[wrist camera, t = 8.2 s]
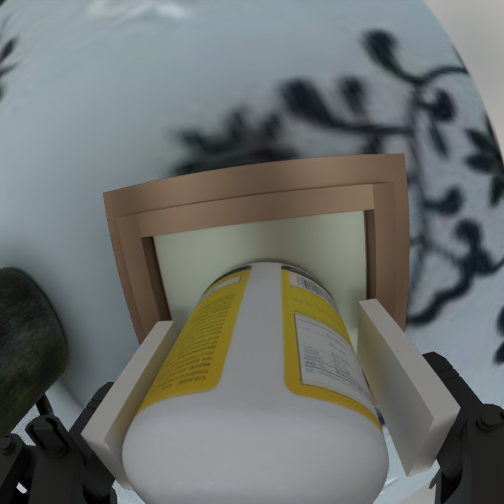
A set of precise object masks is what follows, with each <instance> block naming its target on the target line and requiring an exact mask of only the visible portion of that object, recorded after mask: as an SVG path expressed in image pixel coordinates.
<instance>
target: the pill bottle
mask: <svg viewBox="0 0 504 504" xmlns="http://www.w3.org/2000/svg"><path fill="white" fill-rule="evenodd" d="M122 459H123V466H124V470H125V473H126V476H127V478H128V480H129V482H130V484H131V486H132V487H133V489H134V490H135V492H136V493H137V494H138V496H139V497H140V498H141V499H142V500H143V501H144V502H145V503H146V504H373V502H374V501H375V500H376V498H377V497H378V495H379V494H380V492H381V490H382V488H383V486H384V484H385V481H386V478H387V474H388V469H389V457H388V451H387V447H386V442H385V439H384V435H383V432H382V428H381V425H380V422H379V419H378V416H377V413H376V410H375V406H374V404H373V401H372V398H371V395H370V392H369V389H368V386H367V383H366V381H365V378H364V375H363V372H362V370H361V367H360V364H359V362H358V359H357V356H356V354H355V351H354V348H353V345H352V343H351V340H350V337H349V335H348V332H347V330H346V327H345V325H344V322H343V320H342V317H341V314H340V312H339V309H338V307H337V305H336V303H335V301H334V299H333V297H332V296H331V294H330V293H329V291H328V290H327V289H326V288H325V287H324V286H323V285H322V284H321V283H320V282H319V281H318V280H317V279H316V278H314V277H313V276H311V275H310V274H308V273H307V272H305V271H303V270H301V269H299V268H296V267H293V266H290V265H286V264H282V263H274V262H259V263H251V264H247V265H243V266H240V267H237V268H235V269H232V270H230V271H228V272H226V273H225V274H223V275H222V276H220V277H219V278H218V279H216V280H215V281H214V282H213V283H212V284H211V285H210V286H209V287H208V288H207V289H206V291H205V292H204V293H203V295H202V297H201V298H200V300H199V301H198V303H197V305H196V307H195V309H194V310H193V312H192V314H191V315H190V317H189V319H188V321H187V322H186V324H185V326H184V328H183V329H182V331H181V333H180V335H179V336H178V338H177V340H176V342H175V344H174V345H173V347H172V349H171V351H170V353H169V354H168V356H167V358H166V360H165V362H164V363H163V365H162V367H161V369H160V371H159V373H158V374H157V376H156V378H155V380H154V382H153V384H152V385H151V387H150V389H149V391H148V393H147V395H146V397H145V399H144V400H143V402H142V404H141V406H140V408H139V410H138V412H137V414H136V416H135V417H134V419H133V421H132V423H131V425H130V427H129V429H128V432H127V434H126V436H125V440H124V443H123V449H122Z"/></svg>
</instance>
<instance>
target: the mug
mask: <svg viewBox="0 0 504 504" xmlns="http://www.w3.org/2000/svg"><path fill="white" fill-rule="evenodd" d="M65 365H66V345H65V339H64V336H63V332H62V329H61V327H60V324H59V322H58V320H57V317H56V315H55V313H54V311H53V310H52V308H51V306H50V304H49V303H48V301H47V300H46V298H45V297H44V295H43V294H42V293H41V291H40V290H39V289H38V288H37V287H36V285H35V284H34V283H33V282H32V281H31V280H29V279H28V278H27V277H26V276H24V275H23V274H21V273H19V272H17V271H14V270H12V269H8V268H3V269H0V437H2V436H3V435H5V434H9V433H11V431H12V430H13V429H14V428H15V427H16V425H17V424H18V423H19V422H20V421H21V419H22V418H23V417H24V416H25V415H26V414H27V412H28V411H29V410H30V409H31V408H32V407H33V406H34V404H35V403H36V406H37V408H38V411H39V413H40V416H41V415H47V414H48V415H54V413H53V410H52V407H51V405H50V403H49V400H48V398H47V396H46V394H45V392H46V391H47V390H48V389H49V388H50V386H51V385H52V384H53V383H54V382H55V381H56V380H57V379H58V378H59V377H60V375H61V374H62V373H63V371H64V369H65Z"/></svg>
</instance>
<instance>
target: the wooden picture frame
mask: <svg viewBox="0 0 504 504" xmlns="http://www.w3.org/2000/svg"><path fill="white" fill-rule="evenodd" d="M103 197H104V203H105V209H106V215H107V221H108V226H109V231H110V236H111V241H112V246H113V251H114V255H115V259H116V264H117V268H118V272H119V276H120V280H121V284H122V288H123V291H124V295H125V299H126V302H127V306H128V309H129V312H130V316H131V319H132V322H133V326H134V329H135V332H136V335H137V338H138V341H139V344H140V345H141V344H142V343H143V341H144V340H145V338H146V337H147V336H148V334H149V333H150V331H151V330H152V329H153V327H154V326H155V324H156V323H157V322H158V321H174V322H175V326H176V329H177V333H178V336H179V335H180V333H181V331H182V329H183V328H184V326H185V324H186V322H187V321H188V319H189V317H190V315H191V314H192V312H193V310H194V309H195V307H196V305H197V303H198V301H199V300H200V298H201V297H202V295H203V293H204V292H205V291H206V289H207V288H208V287H209V286H210V285H211V284H212V283H213V282H214V281H215V280H216V279H218V278H219V277H220V276H222V275H223V274H225V273H226V272H228V271H230V270H232V269H235V268H237V267H240V266H243V265H247V264H251V263H259V262H274V263H282V264H286V265H290V266H293V267H296V268H299V269H301V270H303V271H305V272H307V273H308V274H310V275H311V276H313V277H314V278H316V279H317V280H318V281H319V282H320V283H321V284H322V285H323V286H324V287H325V288H326V289H327V290H328V291H329V293H330V294H331V296H332V297H333V299H334V301H335V303H336V305H337V307H338V309H339V312H340V314H341V317H342V320H343V322H344V325H345V327H346V330H347V332H348V335H349V337H350V340H351V343H352V345H353V348H354V351H355V354H356V356H357V339H358V301H364V300H370V299H377V300H378V302H379V303H380V304H381V305H382V306H383V308H384V309H385V310H386V311H387V312H388V314H389V315H390V316H391V317H392V318H393V320H394V321H395V322H396V323H397V324H398V326H399V327H400V328H401V329H402V331H403V332H404V330H405V321H406V311H407V298H408V282H409V205H408V189H407V177H406V167H405V158H404V154H367V155H346V156H331V157H317V158H306V159H295V160H285V161H276V162H268V163H259V164H252V165H244V166H237V167H230V168H224V169H217V170H211V171H205V172H199V173H194V174H188V175H183V176H177V177H172V178H167V179H162V180H157V181H153V182H148V183H143V184H139V185H134V186H130V187H126V188H121V189H117V190H113V191H109V192H105V193H103ZM358 362H359V361H358ZM359 364H360V363H359ZM360 367H361V366H360ZM361 370H362V368H361ZM362 372H363V370H362ZM363 375H364V378H365V381H366V383H367V386H368V389H369V392H370V395H371V398H372V401H373V404H374V405H377V402H376V399H375V397H374V395H373V392H372V390H371V388H370V386H369V383H368V381H367V379H366V377H365V374H364V372H363Z"/></svg>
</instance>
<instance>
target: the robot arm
mask: <svg viewBox="0 0 504 504" xmlns="http://www.w3.org/2000/svg"><path fill="white" fill-rule="evenodd" d="M177 338H178V333H177V329H176V326H175V322H174V321H158V322H157V323H156V324H155V326H154V327H153V329H152V330H151V331H150V333H149V334H148V336H147V337H146V338H145V340H144V341H143V343H142V344H141V345H140V347H139V348H138V350H137V351H136V353H135V354H134V355H133V357H132V358H131V360H130V361H129V363H128V364H127V365H126V367H125V368H124V370H123V371H122V373H121V374H120V376H119V377H118V378H117V380H116V381H115V382H108V383H106V384H105V385H104V386H102V387H101V388H100V389H98V391H97V392H96V393H95V395H94V396H93V398H92V399H91V400H92V401H90V402H89V403H88V405H87V406H86V409H84V410H83V412H82V413H81V414H80V416H79V417H78V419H77V420H76V422H75V423H74V425H73V426H72V427H71V429H70V430H69V432H68V431H67V430H66V429H65V427H64V426H63V424H62V423H61V421H60V420H59V418H58V417H56V416H54V415H48V414H47V415H41V416H38V417H36V418H34V419H33V420H32V421H31V422H29V423H28V424H27V426H26V428H25V431H26V432H27V434H28V435H29V437H30V438H31V439H32V441H33V442H34V443H35V444H36V446H30V445H26V444H25V443H24V441H23V440H22V439H21V437H20V436H19V435H17V434H13V433H9V434H5V435H3V436H2V437H0V504H117V495H116V491H115V490H114V489H113V488H112V485H113V483H114V481H115V479H116V480H117V482H118V483H119V484H120V485H121V486H122V487H123V488H125V489H129V490H133V491H135V490H134V489H133V487H132V486H131V484H130V482H129V480H128V478H127V476H126V473H125V470H124V466H123V459H122V449H123V443H124V440H125V436H126V434H127V432H128V429H129V427H130V425H131V423H132V421H133V419H134V417H135V416H136V414H137V412H138V410H139V408H140V406H141V404H142V402H143V400H144V399H145V397H146V395H147V393H148V391H149V389H150V387H151V385H152V384H153V382H154V380H155V378H156V376H157V374H158V373H159V371H160V369H161V367H162V365H163V363H164V362H165V360H166V358H167V356H168V354H169V353H170V351H171V349H172V347H173V345H174V344H175V342H176V340H177ZM357 359H358V361H359V363H360V366H361V368H362V370H363V372H364V374H365V377H366V379H367V381H368V383H369V386H370V388H371V390H372V392H373V395H374V397H375V399H376V402H377V404H378V406H379V409H380V411H381V413H382V416H383V418H384V421H385V423H386V425H387V428H388V430H389V433H390V435H391V438H392V440H393V443H394V445H395V448H396V450H397V453H398V455H399V458H400V460H401V463H402V466H403V468H404V471H405V473H406V476H407V477H410V476H412V475H415V474H418V473H421V472H423V471H426V470H429V469H430V468H431V467H432V465H433V463H434V461H435V459H437V461H438V463H439V465H440V469H439V470H438V472H437V474H436V475H435V477H434V478H433V480H432V481H431V483H430V486H429V489H431V488H432V487H433V486H434V485H435V484H436V494H435V504H504V410H503V409H502V408H501V407H500V406H497V405H494V404H483V403H482V402H481V401H480V400H479V399H478V397H477V396H476V395H475V393H474V392H473V391H472V390H471V388H470V387H469V386H468V385H467V383H466V382H465V381H464V380H463V379H462V377H461V376H460V377H459V374H458V372H457V371H456V370H455V369H453V367H452V365H451V364H450V363H449V362H448V361H447V359H446V358H444V357H443V356H441V355H439V354H437V353H435V352H434V351H433V352H429V353H426V354H422V355H421V353H420V352H419V351H418V349H417V348H416V347H415V346H414V344H413V343H412V342H411V341H410V339H409V338H408V337H407V336H406V334H405V333H404V332H403V331H402V329H401V328H400V327H399V326H398V324H397V323H396V322H395V321H394V320H393V318H392V317H391V316H390V315H389V314H388V312H387V311H386V310H385V309H384V308H383V306H382V305H381V304H380V303H379V302H378V300H377V299H370V300H364V301H358V339H357ZM18 483H20V484H21V485H22V486H23V487H24V488H25V489H27V491H26V493H21V492H20V491H19V490H18V489H17V488H16V487H17V485H18Z"/></svg>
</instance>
